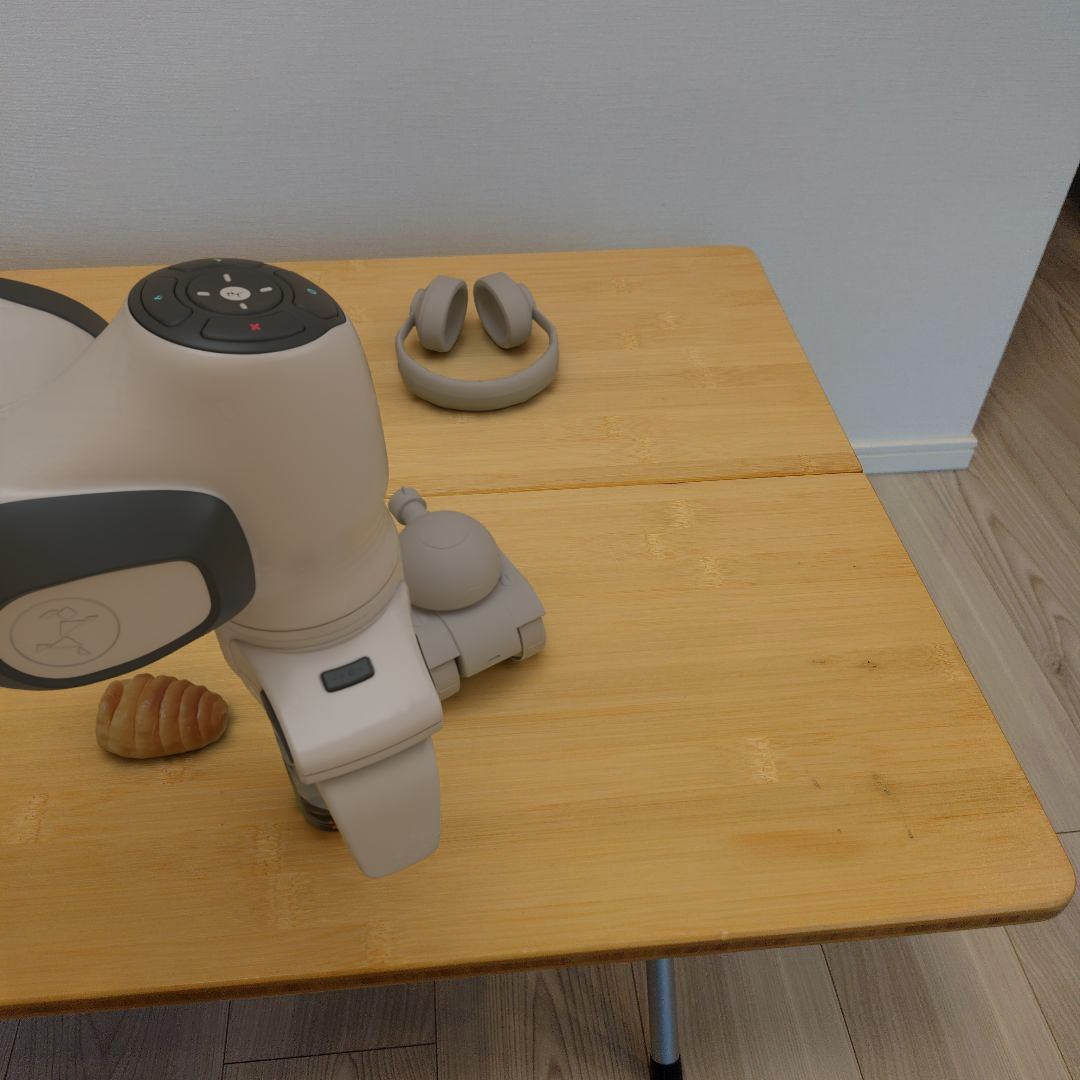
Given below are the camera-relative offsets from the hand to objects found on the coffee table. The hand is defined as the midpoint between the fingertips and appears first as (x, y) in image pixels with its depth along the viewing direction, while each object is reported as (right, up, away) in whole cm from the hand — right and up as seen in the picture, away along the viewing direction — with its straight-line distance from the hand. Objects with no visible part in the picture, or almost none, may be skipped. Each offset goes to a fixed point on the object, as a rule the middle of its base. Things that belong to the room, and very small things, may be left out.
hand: (350, 762), depth 54 cm
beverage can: (-4, -6, +16) cm, 18 cm away
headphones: (+4, +33, +56) cm, 65 cm away
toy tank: (+3, +4, +27) cm, 28 cm away
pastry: (-19, -2, +21) cm, 28 cm away
